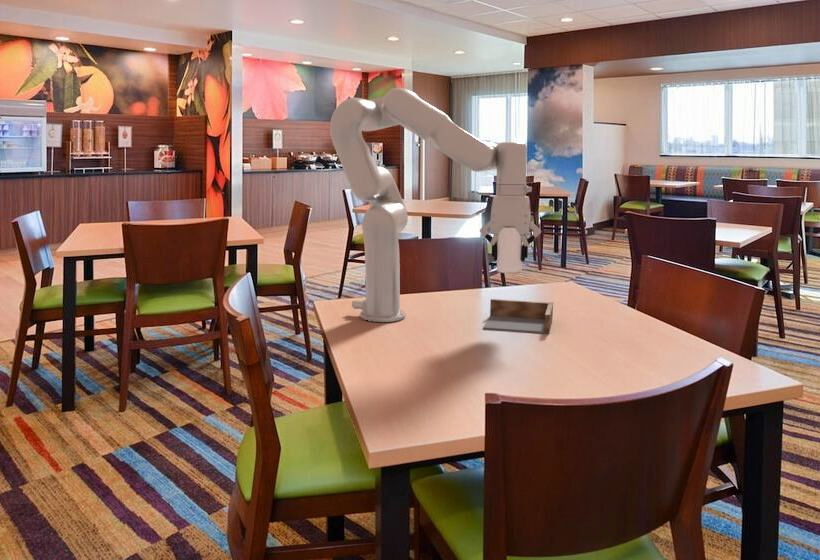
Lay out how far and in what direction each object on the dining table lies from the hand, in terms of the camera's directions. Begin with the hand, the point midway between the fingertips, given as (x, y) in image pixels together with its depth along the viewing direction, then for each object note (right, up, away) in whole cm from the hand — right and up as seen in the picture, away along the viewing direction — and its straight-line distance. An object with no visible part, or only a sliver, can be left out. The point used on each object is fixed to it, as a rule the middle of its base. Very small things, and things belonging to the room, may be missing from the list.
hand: (509, 259), depth 174 cm
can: (0, -3, +1) cm, 3 cm away
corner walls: (+3, -17, +5) cm, 18 cm away
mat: (+3, -17, +5) cm, 18 cm away
